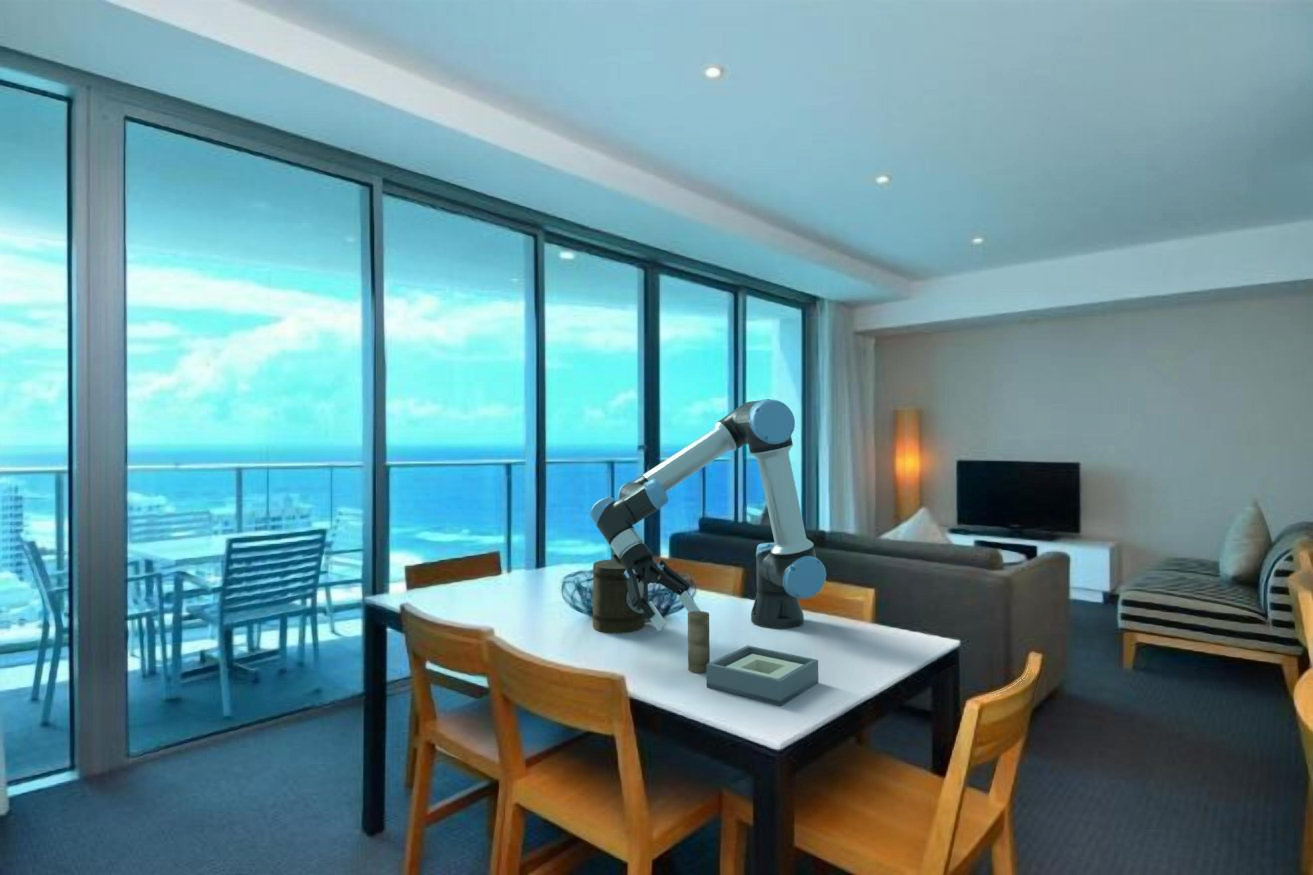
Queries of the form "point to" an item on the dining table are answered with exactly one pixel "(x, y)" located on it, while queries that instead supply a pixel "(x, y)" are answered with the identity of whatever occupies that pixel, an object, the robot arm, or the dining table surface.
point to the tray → (760, 681)
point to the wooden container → (613, 599)
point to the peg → (698, 641)
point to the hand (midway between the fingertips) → (680, 621)
